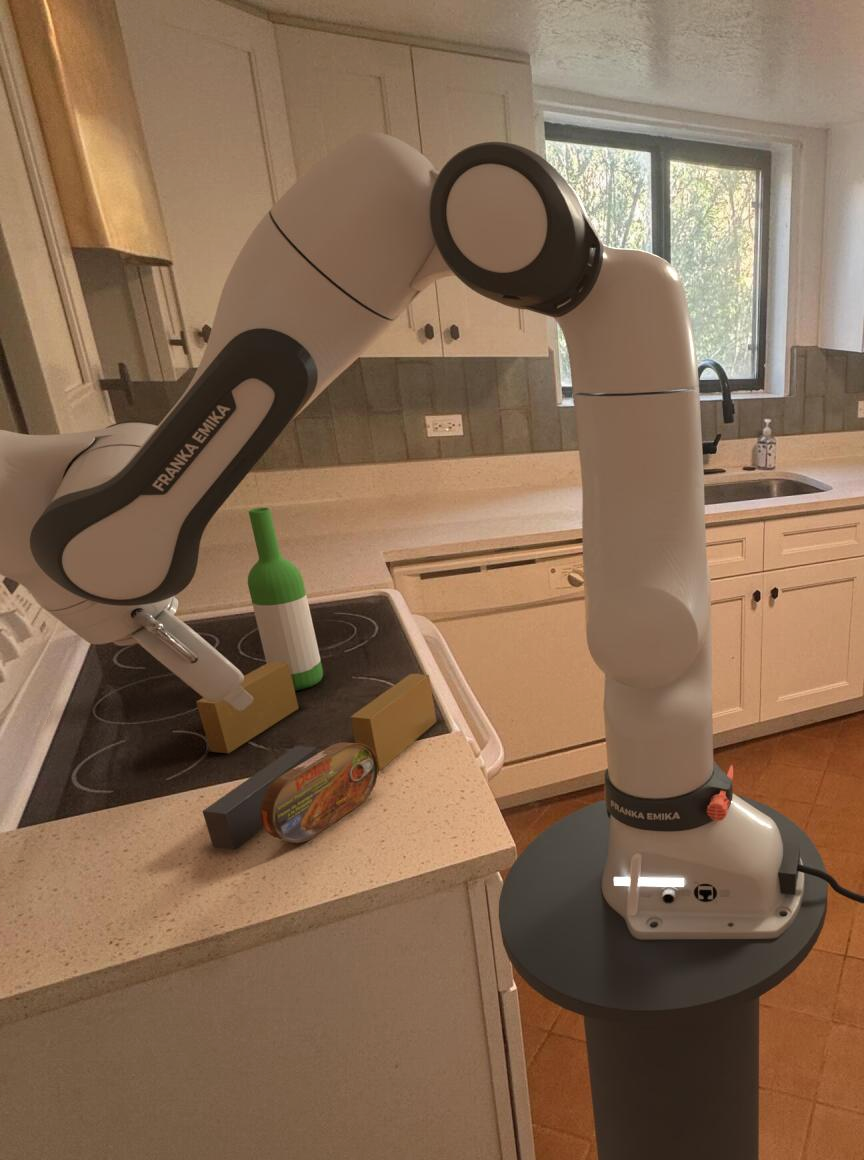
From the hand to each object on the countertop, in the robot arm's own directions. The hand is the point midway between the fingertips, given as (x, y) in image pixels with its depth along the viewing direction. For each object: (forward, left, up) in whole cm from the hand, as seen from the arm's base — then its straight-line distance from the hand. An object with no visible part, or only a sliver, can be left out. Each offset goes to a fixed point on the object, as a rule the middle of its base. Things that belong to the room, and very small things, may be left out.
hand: (225, 687), depth 81 cm
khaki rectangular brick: (+1, -26, -22) cm, 34 cm away
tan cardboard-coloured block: (+25, -26, -22) cm, 42 cm away
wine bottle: (+30, -41, -22) cm, 55 cm away
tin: (-1, -8, -22) cm, 23 cm away
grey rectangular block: (+7, -8, -22) cm, 24 cm away
